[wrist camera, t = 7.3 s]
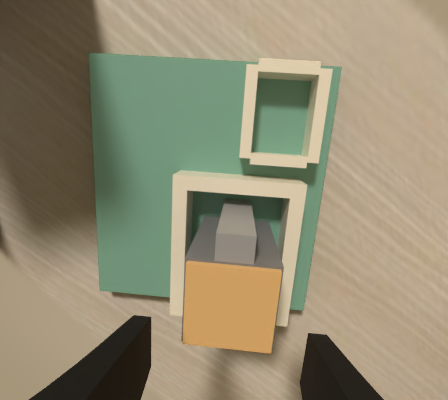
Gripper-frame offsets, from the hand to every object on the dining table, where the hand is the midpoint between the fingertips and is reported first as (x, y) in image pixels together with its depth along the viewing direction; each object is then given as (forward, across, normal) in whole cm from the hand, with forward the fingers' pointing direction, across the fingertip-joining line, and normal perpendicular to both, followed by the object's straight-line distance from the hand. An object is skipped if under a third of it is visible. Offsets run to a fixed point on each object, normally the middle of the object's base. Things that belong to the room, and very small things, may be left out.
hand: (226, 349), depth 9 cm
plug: (+8, 0, 0) cm, 8 cm away
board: (+9, +2, -4) cm, 10 cm away
